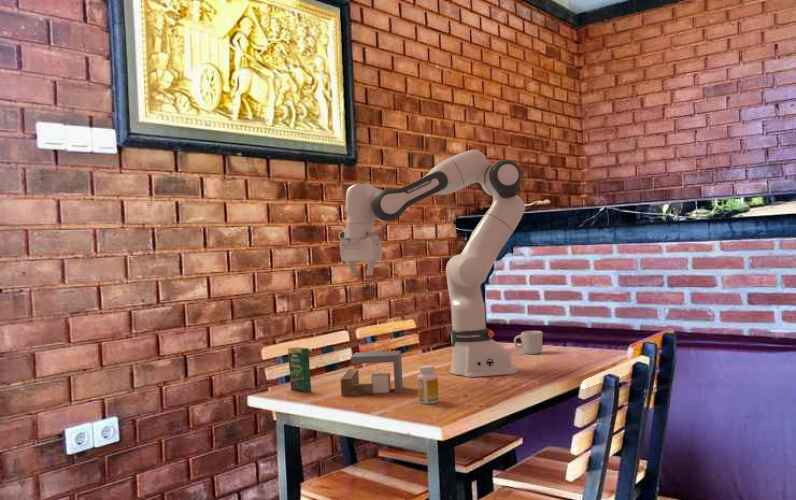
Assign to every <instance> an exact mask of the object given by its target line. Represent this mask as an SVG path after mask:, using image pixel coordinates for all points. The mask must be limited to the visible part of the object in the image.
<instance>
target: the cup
mask: <svg viewBox="0 0 796 500" xmlns="http://www.w3.org/2000/svg"><path fill="white" fill-rule="evenodd" d="M543 333H544V332H543V331H541V330H525V331H522V332H521V333H520V334H518V335H516V336H515V337H514V338H513V345H514V346H515V347H516V349H517V348H518V349H523V352H524V353H525V354H526V353H527V354H526V355H538V353H539V354H541V353H542V351H543V335H544V334H543ZM518 339H520V341H521V344H520V345H518V343H517V340H518Z"/></svg>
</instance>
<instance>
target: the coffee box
mask: <svg viewBox="0 0 796 500" xmlns="http://www.w3.org/2000/svg"><path fill="white" fill-rule="evenodd" d="M287 351H288V352H287V353H288V354H287V355H288V367H289V379H290V380H289V381H290V390H294V391H298V392H304V393H306V392H311V391H312V386H311V371H310V370H311V369H310V366H311V365H310V352H309V351H310V350H309V348H308V347H298V346H292V347H288V348H287Z"/></svg>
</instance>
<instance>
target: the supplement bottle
mask: <svg viewBox="0 0 796 500" xmlns="http://www.w3.org/2000/svg"><path fill="white" fill-rule="evenodd" d="M419 372H420V373H419V374H418V375H417V389H418V390H417V391H418V401H419V403H420V404H424V405H429V404H431V405H432V404H436V403H438V402H439V400H440V398H439V382H438V374H437V373H435V366H434V365H432V364H424V365H420V366H419Z"/></svg>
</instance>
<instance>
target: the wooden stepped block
mask: <svg viewBox="0 0 796 500" xmlns="http://www.w3.org/2000/svg"><path fill="white" fill-rule="evenodd" d="M359 375H360V374H359V368H348V369H347V370H346V371H345V373H344V374H343V376H342V377H341V378H340V392H341V393H340V394H341V397H357V396H358V397H359V396H373V394H374V393H373V386H372V382H370V383H360V379H359V378H360V377H359Z"/></svg>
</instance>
